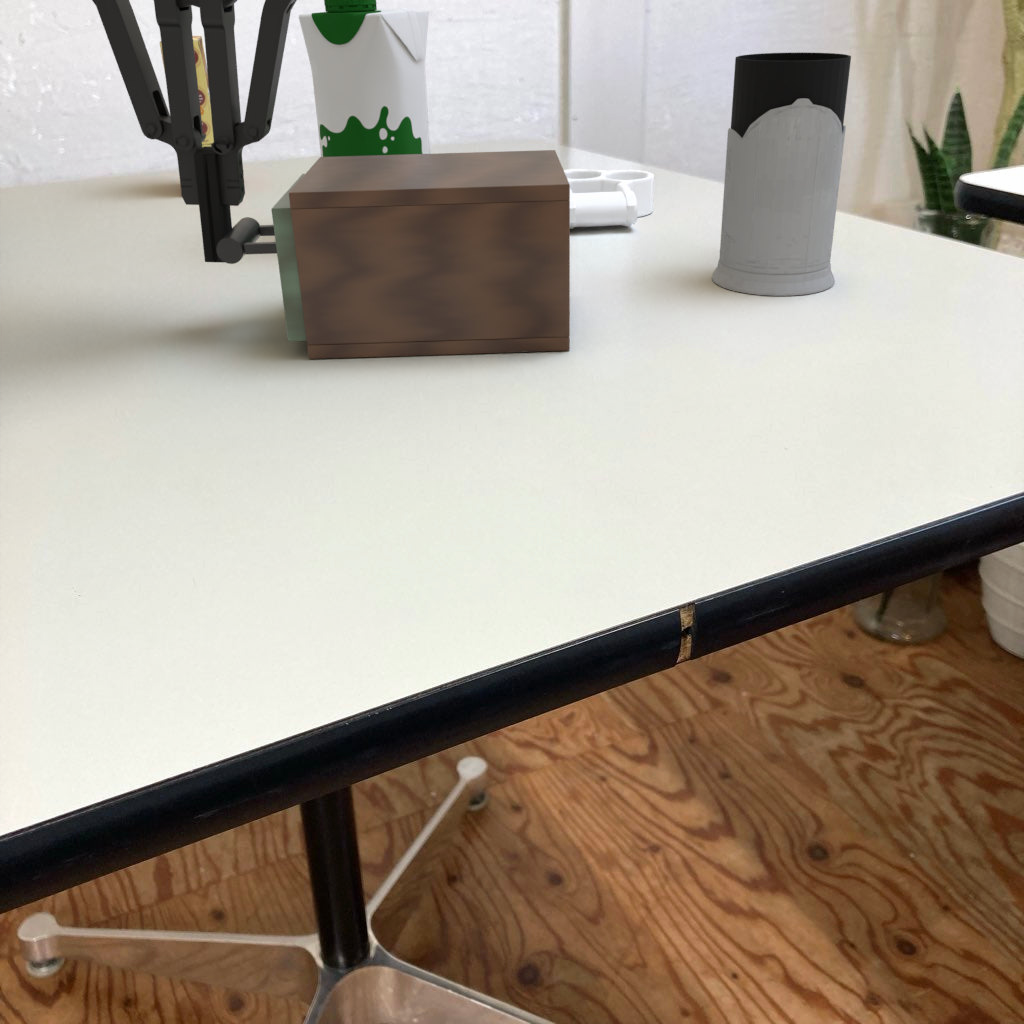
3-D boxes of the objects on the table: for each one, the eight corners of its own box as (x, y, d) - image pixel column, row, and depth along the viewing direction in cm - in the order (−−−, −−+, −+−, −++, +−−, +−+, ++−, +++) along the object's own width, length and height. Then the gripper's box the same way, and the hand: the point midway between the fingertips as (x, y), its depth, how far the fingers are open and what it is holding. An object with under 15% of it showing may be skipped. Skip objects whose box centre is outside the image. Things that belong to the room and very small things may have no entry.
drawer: (218, 344, 63) (197, 210, 59) (255, 292, 73) (239, 175, 70) (529, 334, 63) (527, 200, 59) (522, 283, 73) (520, 167, 70)
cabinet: (308, 359, 63) (288, 192, 58) (334, 300, 74) (319, 156, 70) (569, 351, 63) (569, 184, 59) (556, 293, 74) (555, 149, 70)
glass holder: (722, 297, 72) (739, 63, 66) (693, 249, 85) (704, 48, 78) (849, 294, 72) (878, 59, 65) (800, 246, 85) (821, 45, 78)
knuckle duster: (468, 239, 90) (461, 206, 103) (673, 230, 91) (640, 198, 104) (466, 199, 89) (459, 171, 101) (675, 190, 90) (641, 163, 103)
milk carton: (313, 245, 90) (283, -15, 80) (368, 223, 97) (347, -18, 88) (401, 253, 86) (381, -18, 77) (452, 230, 94) (439, -20, 84)
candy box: (225, 194, 112) (201, 38, 105) (184, 197, 111) (158, 40, 104) (225, 180, 120) (203, 34, 112) (187, 183, 119) (163, 36, 112)
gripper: (26, -200, 52) (99, 269, 63) (285, -189, 52) (312, 275, 63) (78, -182, 58) (135, 240, 70) (307, -173, 59) (328, 245, 70)
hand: (220, 256), depth 66 cm, fingers closed
